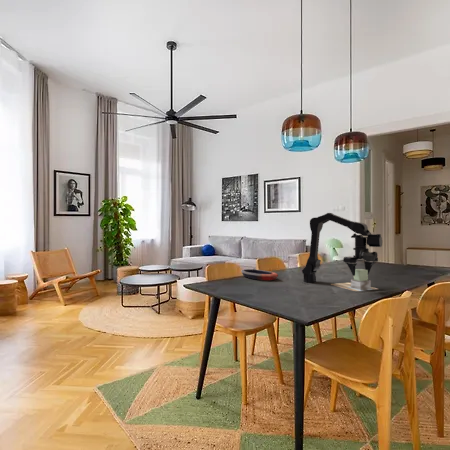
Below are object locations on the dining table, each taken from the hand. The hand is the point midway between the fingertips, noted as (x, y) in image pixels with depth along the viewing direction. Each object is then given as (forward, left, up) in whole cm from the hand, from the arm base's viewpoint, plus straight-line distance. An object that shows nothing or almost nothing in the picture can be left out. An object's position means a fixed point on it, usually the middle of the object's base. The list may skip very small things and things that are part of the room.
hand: (360, 275), depth 171 cm
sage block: (0, 0, -3) cm, 3 cm away
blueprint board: (0, +5, -8) cm, 10 cm away
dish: (-35, +53, -9) cm, 64 cm away
